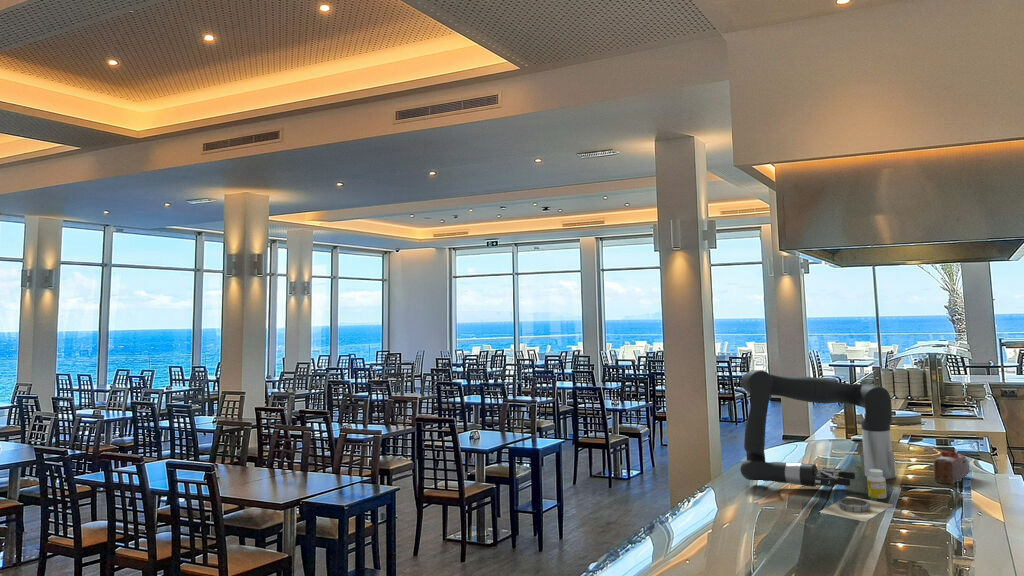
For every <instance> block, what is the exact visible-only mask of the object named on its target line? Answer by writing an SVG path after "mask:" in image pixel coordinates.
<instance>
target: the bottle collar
mask: <svg viewBox="0 0 1024 576" xmlns="http://www.w3.org/2000/svg"><path fill="white" fill-rule="evenodd" d="M844 498H845V499H844ZM844 498H840V499H839V500H838V501H837V502H838V503H839V508H840V509H841V510H844V511H847V512H854V513H863V512H868V511H869V510H870V503H869V502H868V501H865V500H866V499H865V500H862V499H863V498H860V499H856V498H857V497H854V498H846V497H844ZM851 505H860V506H851Z"/></svg>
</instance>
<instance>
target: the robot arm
mask: <svg viewBox="0 0 1024 576" xmlns="http://www.w3.org/2000/svg"><path fill="white" fill-rule="evenodd" d="M740 383H741V387H742V389H744V391H745V392H747V393H748V394H749V395H750V405H749V413H748V416H747V420H746V425H745V429H744V441H743V442H744V444H743V445H744V446H743V448H744V450H745V451H746V460H745V461H743V463H742V464H741V465H740V469H739V470H740V474H741V475H742V476H743V478H744V479H746V480H748V481H753V480H763V481H762V482H774V481H775V483H782V484H789V485H796V486H804V487H812V488H814V487H816V486H823V487H831V488H834V487H838V486H846V487H850V486H851V485H852V484H851V480H855V479H856V473H855V472H853V471H843V470H842V468H836V467H835V468H833V467H831V468H830V467H822V469H820V470H819V469H818V468H817V465H816V464H814V463H802V462H784V461H783V462H782V461H772V462H767V461H766V455H765V443H766V428H767V427H766V425H767V418H768V417H767V416H768V409H769V403H770V399H771V396H779V397H785V398H788V399H792V400H797V401H801V402H807V403H813V404H837V403H838V404H839V403H842V404H848V405H852V406H857V407H861V408H863V409H864V413H865V414H864V417H865V418H864V419H863V420H861V423H860V425H861V427H860V428H861V438H862V451H863V464H864V465H863V466H864V467H863V468H864V476H865V477H866V478H867V477H868V476H870V475H869V470H870V469H879V470H882V471H883V475H882V476H883V477H884V478H885V480H891V479H896V467H895V455H894V454H895V453H894V451H893V448H892V438H891V424H892V420H893V411H892V408H893V406H892V398H891V394H890V393H889V391H888V390H887V389H886V388H885V387H882V386H879V385H876V384H871V383H844V382H839V381H836V380H831V379H827V378H820V377H813V376H801V375H800V376H798V375H795V376H794V375H792V376H791V375H789V376H784V375H783V376H782V375H775V374H771V373H770V374H769V372H767V371H765V370H761V369H758V370H757V369H755V370H754V369H753V370H750V371H747V372H746V373H745V374H744V375H743V376H742V377H741V382H740Z"/></svg>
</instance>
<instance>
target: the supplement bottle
mask: <svg viewBox="0 0 1024 576" xmlns="http://www.w3.org/2000/svg"><path fill="white" fill-rule="evenodd" d="M869 475H870V476H868V477H867V476H866V482H867V496H868V498H871V499H878V500H879V499H880V500H883V499H886V498H887V485H886V484H887V483H886V480H887V479H885V478H884V477H883V476H882V475H883V471H882V470H879V469H870V470H869Z"/></svg>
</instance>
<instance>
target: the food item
mask: <svg viewBox="0 0 1024 576" xmlns="http://www.w3.org/2000/svg"><path fill="white" fill-rule="evenodd" d="M970 469H971V468H970V460H968V459H967V458H966V456H965V455H963V454H961V453H959V452H956V451H955V452H954V451H951V452H950V451H942V452H941V453H940V456H939V457H937V458H935V459H933V477H934V481H935V482H937V483H942V484H947V483H954V482H955V481H956V482H958V481H957V480H960V479H962V478H963V479H965V478H966V477H967V476H968V475H969V473H970V471H971V470H970ZM965 476H966V477H965ZM956 482H955V483H956ZM955 483H954V484H955Z"/></svg>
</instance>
